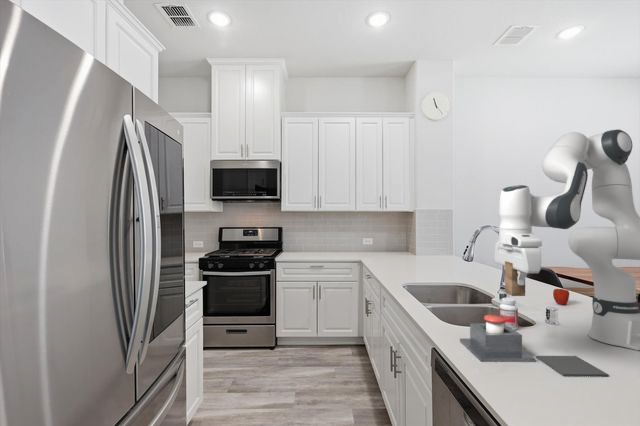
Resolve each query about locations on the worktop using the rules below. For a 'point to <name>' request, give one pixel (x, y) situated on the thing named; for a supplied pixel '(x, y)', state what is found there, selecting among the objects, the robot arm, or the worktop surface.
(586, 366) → the mat
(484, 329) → the box
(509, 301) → the pill bottle
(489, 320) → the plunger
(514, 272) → the stacked wooden blocks
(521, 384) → the worktop surface
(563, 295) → the apple
